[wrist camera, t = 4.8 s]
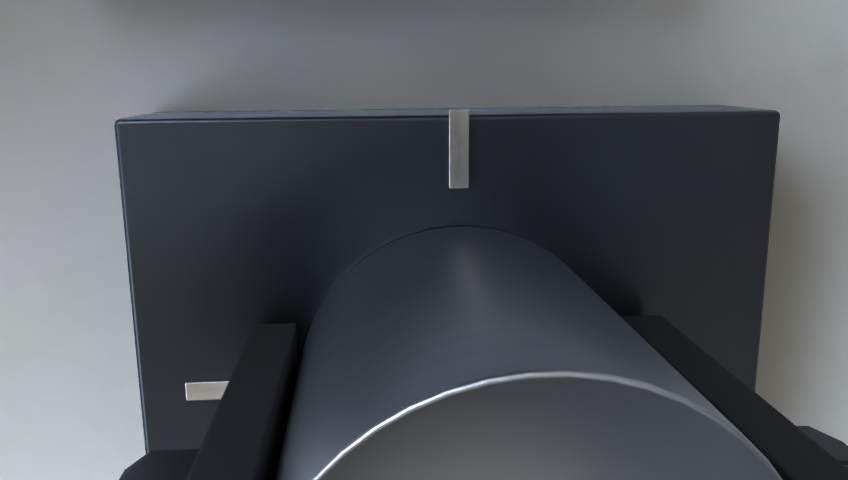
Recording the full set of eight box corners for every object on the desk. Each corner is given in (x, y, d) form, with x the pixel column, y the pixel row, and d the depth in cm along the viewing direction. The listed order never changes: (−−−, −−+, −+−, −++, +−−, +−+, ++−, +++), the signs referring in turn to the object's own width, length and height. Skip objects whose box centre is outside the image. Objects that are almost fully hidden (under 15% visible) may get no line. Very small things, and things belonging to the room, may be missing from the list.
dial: (475, 157, 14) (594, 251, 7) (672, 385, 15) (948, 668, 8) (232, 372, 14) (103, 670, 7) (442, 575, 16) (509, 999, 8)
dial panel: (721, 100, 16) (787, 106, 14) (690, 524, 19) (742, 597, 16) (150, 107, 16) (108, 114, 13) (188, 551, 18) (158, 633, 15)
